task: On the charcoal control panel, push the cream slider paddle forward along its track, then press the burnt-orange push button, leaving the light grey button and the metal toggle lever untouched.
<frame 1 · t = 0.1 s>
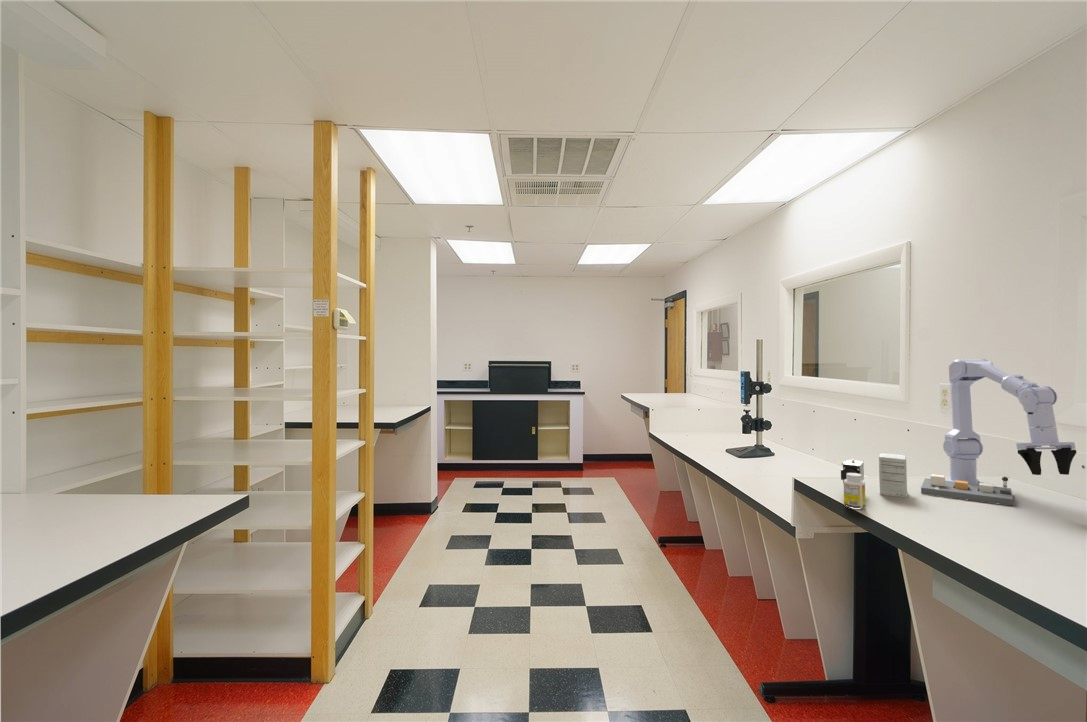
hand: (1050, 474, 143), 11 cm above the table, tool pointing down, fingers open, 7 cm apart
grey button: (986, 488, 157), point 3 cm above the table, slide at 0.0 cm
supplement box: (893, 494, 163), on the table
supplement bottle: (854, 508, 150), on the table
pneumatic valve: (852, 495, 163), on the table
orange button: (961, 485, 161), point 3 cm above the table, slide at 0.0 cm
control panel: (965, 494, 161), on the table
slider paddle: (937, 480, 164), point 4 cm above the table, slide at 0.0 cm
toggle lever: (1005, 480, 155), point 6 cm above the table, hinge at -25.0°
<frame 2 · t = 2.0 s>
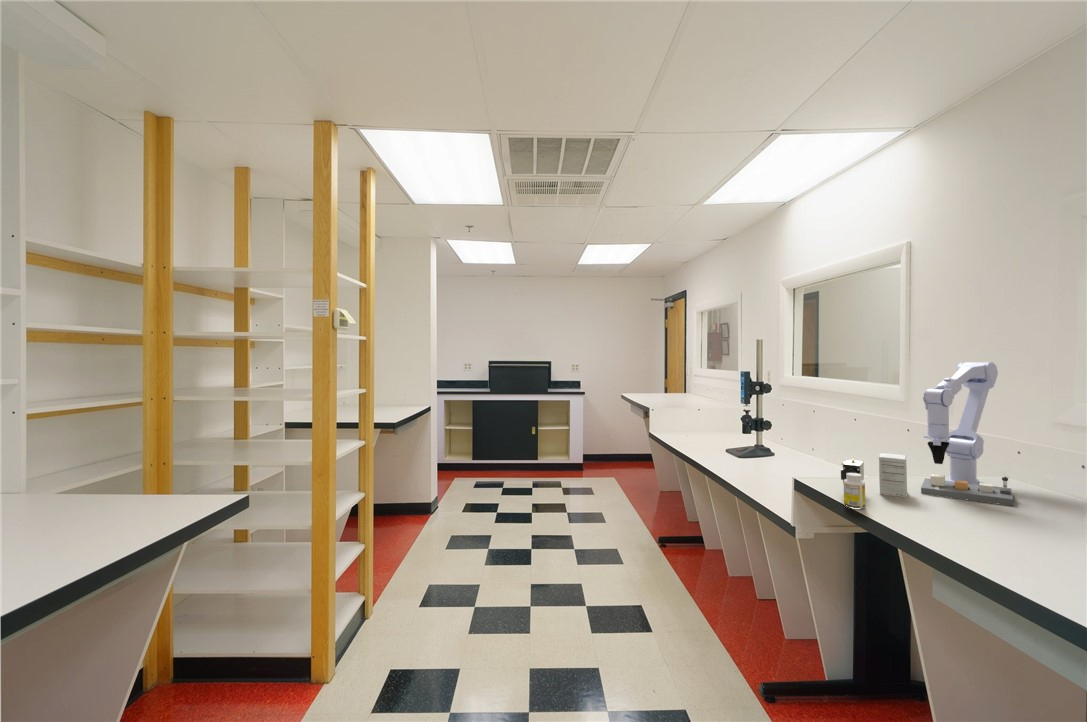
hand: (938, 463, 169), 8 cm above the table, tool pointing down, fingers closed
nothing on the table moved.
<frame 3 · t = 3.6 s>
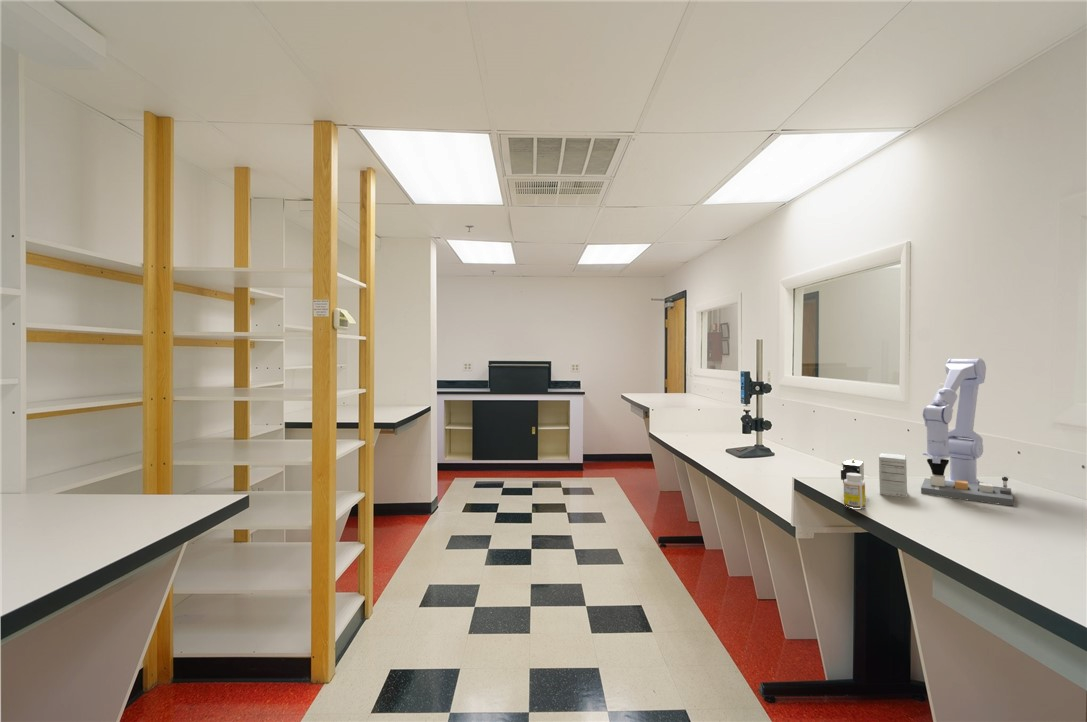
hand: (938, 480, 166), 3 cm above the table, tool pointing down, fingers closed
slider paddle: (937, 480, 164), point 4 cm above the table, slide at 0.2 cm, touching gripper
everything else where it was.
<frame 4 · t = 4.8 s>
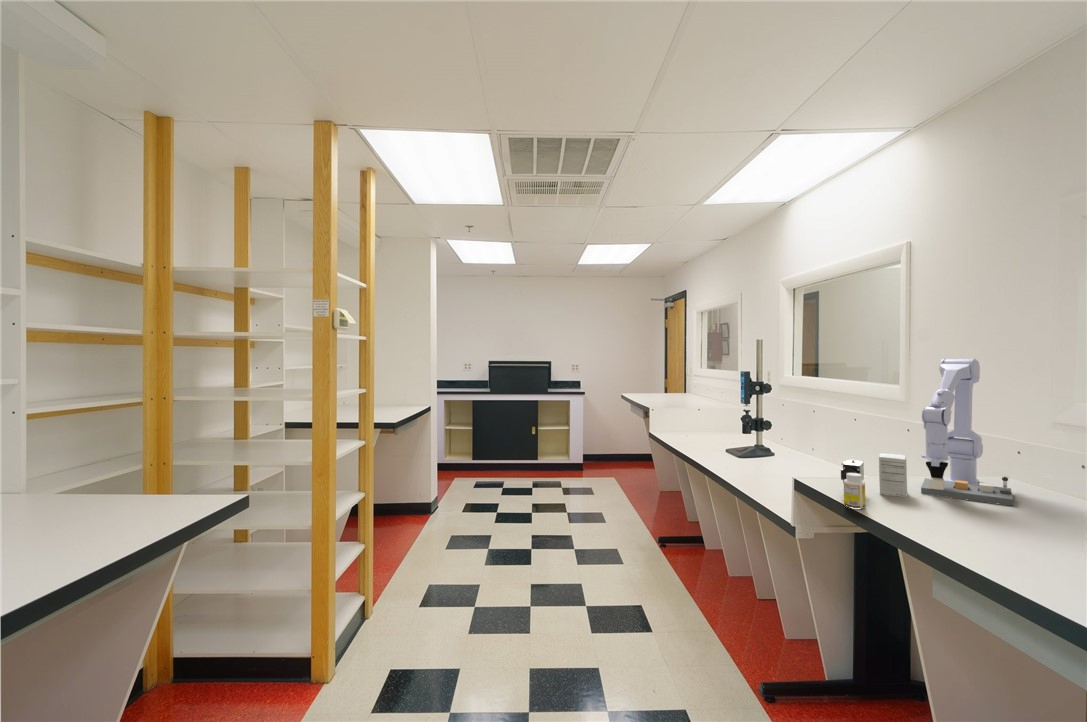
hand: (937, 484, 162), 3 cm above the table, tool pointing down, fingers closed
slider paddle: (936, 483, 160), point 4 cm above the table, slide at 5.3 cm, touching gripper
everything else where it was.
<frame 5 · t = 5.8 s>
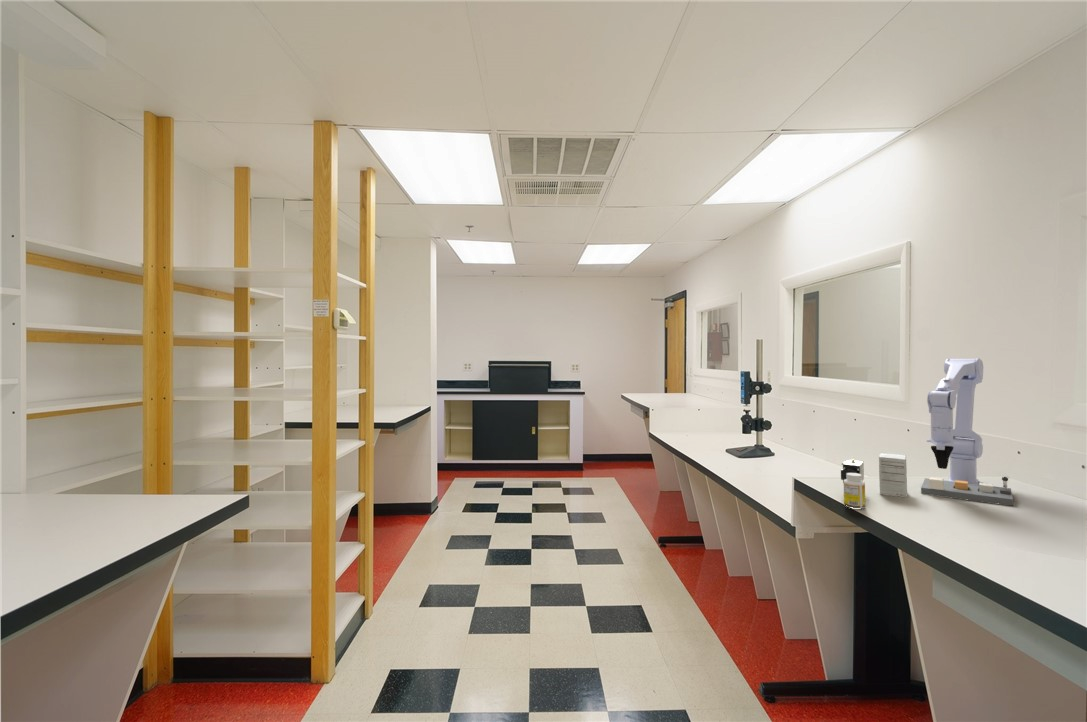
hand: (942, 468, 162), 8 cm above the table, tool pointing down, fingers closed
slider paddle: (936, 483, 160), point 4 cm above the table, slide at 5.3 cm
everything else where it was.
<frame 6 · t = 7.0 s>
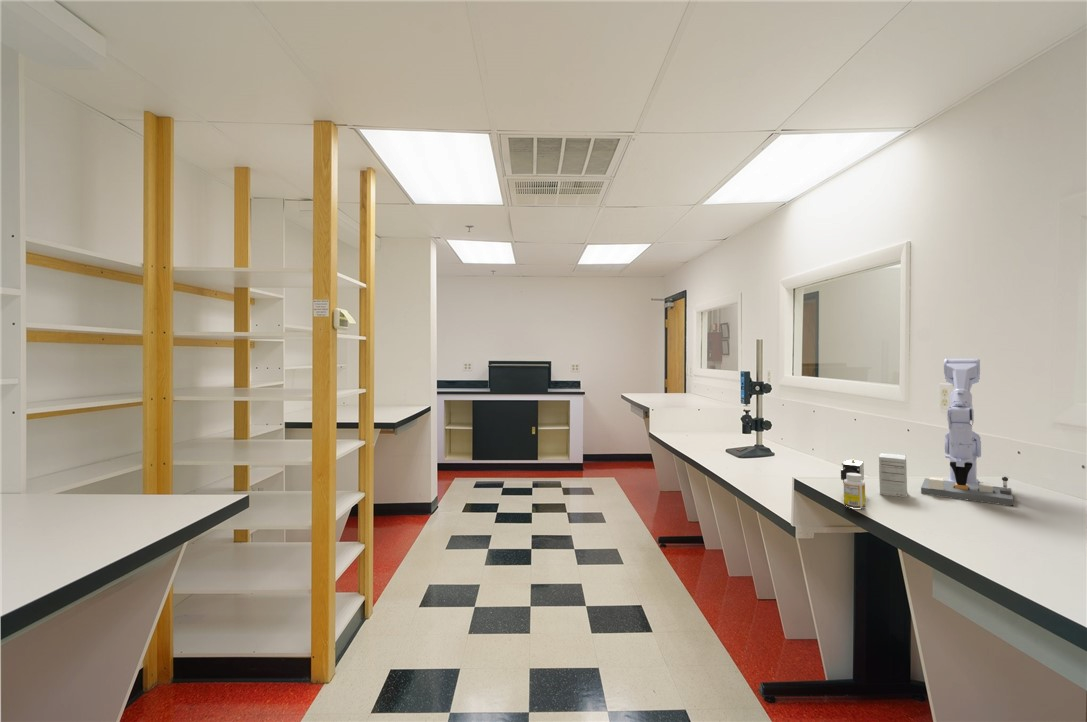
hand: (961, 484, 161), 3 cm above the table, tool pointing down, fingers closed, pressing on orange button
orange button: (961, 488, 161), point 2 cm above the table, slide at 0.9 cm, touching gripper
everything else where it was.
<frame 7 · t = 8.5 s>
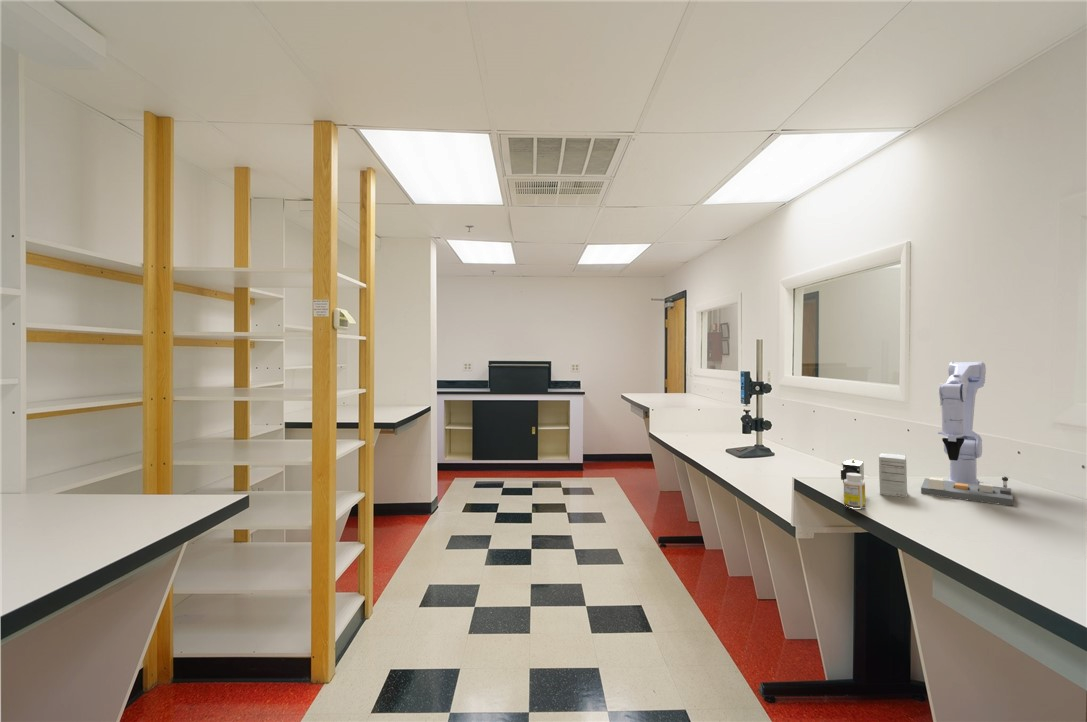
hand: (953, 460, 164), 10 cm above the table, tool pointing down, fingers closed
orange button: (961, 488, 161), point 2 cm above the table, slide at 0.9 cm
everything else where it was.
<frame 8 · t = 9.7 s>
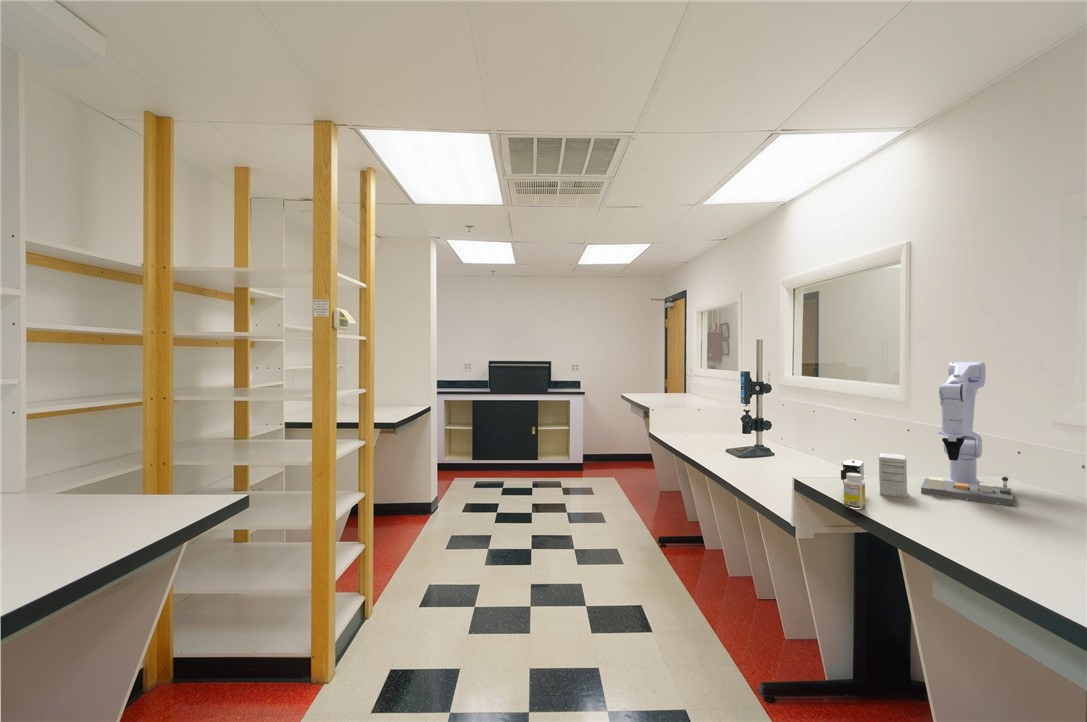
hand: (953, 460, 164), 10 cm above the table, tool pointing down, fingers closed
nothing on the table moved.
at the end: slider paddle slide at 5.3 cm; orange button slide at 0.9 cm; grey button slide at 0.0 cm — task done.
